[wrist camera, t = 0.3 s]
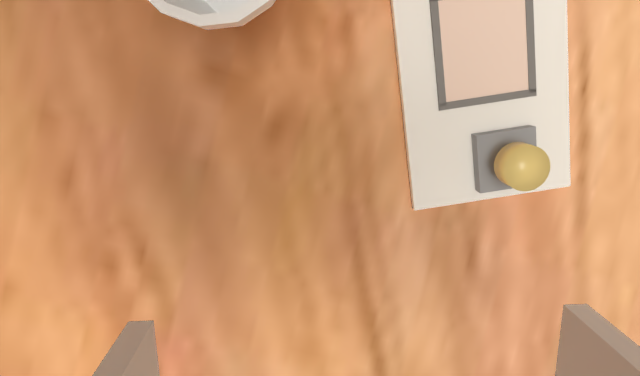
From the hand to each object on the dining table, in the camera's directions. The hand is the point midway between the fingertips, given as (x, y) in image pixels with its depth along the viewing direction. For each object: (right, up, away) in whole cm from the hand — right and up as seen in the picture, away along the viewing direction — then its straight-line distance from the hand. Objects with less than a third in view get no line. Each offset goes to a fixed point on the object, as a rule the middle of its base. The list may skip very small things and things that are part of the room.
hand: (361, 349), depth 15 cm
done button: (+15, +7, +23) cm, 28 cm away
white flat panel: (+12, +18, +24) cm, 32 cm away
